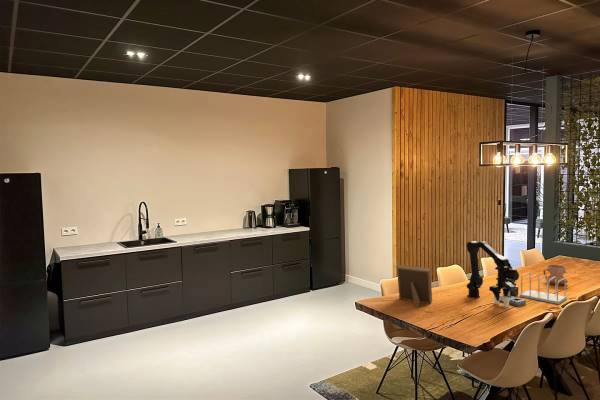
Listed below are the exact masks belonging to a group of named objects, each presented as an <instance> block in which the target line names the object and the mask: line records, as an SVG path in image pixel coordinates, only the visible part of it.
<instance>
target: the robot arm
mask: <svg viewBox="0 0 600 400" xmlns="http://www.w3.org/2000/svg"><path fill="white" fill-rule="evenodd" d="M465 247H466V250H467V252H468V253H469V259H470V271H471V275H470V277H469V282H468V283H467V284H466V289H468V294H467V295H466V296H467V297H468V298H472V299H476V298H480V297H481V296H480V289H481V287H482V286H483V283H484V279H483V278H484V277H483V276H481V275H480V268H479V258H478V257H479V256H478V253H479V251H480V249H482V250H483V251H484V252H485V253H486V254H487V255H488V256H489V257H490V258H492V260H493V262H494V264H495V268H494V270H497V277H496V278H495V280H497V281H496V284H495V285H491V286H489V290H488V291H490V292H492V293H493V296H494V295H495V297H496V300H497V301H499V296H500V295H501V293H503V295H504V296H508V293H509V291H512V290H514V288H516V286H517V282H516V283H515V282H512V283H511V282H509V280H508V279H512V280H516V281H518V280H519V278H520V274H519V272H518V270H517V269H513V266H512V265H511V263H510V260H509V259H508V258H507V257H505V256H503V255H501V254H499V252H497V251H496V250H495V249H494V248H493V247H491V246H490V245H489V244H488V242H487V241H476V240H473V241H468V242H467V243H466V246H465Z"/></svg>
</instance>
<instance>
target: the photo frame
mask: <svg viewBox="0 0 600 400" xmlns="http://www.w3.org/2000/svg"><path fill="white" fill-rule="evenodd" d="M396 272H397V273H396V274H397V283H398V284H397V285H398V297H399V299H398V300H401V299H404V300H403V301H408V300H410V301H409V302H413V306H414V307H417V308H419V307H420V303H421V304H428V305H431V304H432V302H433V291H432V290H433V288H432V287H433V286H432V273H431V272H432V271H431V268H429V267H420V266H414V265H413V266H412V265H404V264H403V265H402V264H398V265H397V267H396Z"/></svg>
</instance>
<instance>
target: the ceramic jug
mask: <svg viewBox="0 0 600 400" xmlns="http://www.w3.org/2000/svg"><path fill="white" fill-rule="evenodd" d="M546 271H547V272H549V274H550V275H547V273H546ZM542 272H543V273H542V274H543V276H545V275H547V276H548V282H549V280H550V279H551V278H553V277H554V276H556V286H557V283H558V281H559V280H561V279H563V278H565V279H566V284H567V283H568V282H569V281H568V279H567V278H566V277H564V274H569V273H570V272H569V271H567V267H566V266H565V265H562V264H561V265H560V264H548V265H547V267H546V268H544V269H543V270H542ZM547 276H545V277H544V278H545V281H546V282H547ZM565 279H564V280H562V281H560V282H559V283H558V286H563V285H564V286H565ZM549 285H555V278H553V279H552V280H550V282H549Z"/></svg>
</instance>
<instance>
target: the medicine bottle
mask: <svg viewBox="0 0 600 400" xmlns="http://www.w3.org/2000/svg"><path fill="white" fill-rule="evenodd" d="M507 279H508V278H507ZM508 280H509V282H511V283H512V282H515V283H516V284H517V282H516V281H517V280H512V279H508ZM508 295H509V296H513V297H516V298H517V297H519V286H518V285H516V288H514V290H512V291H509V293H508Z"/></svg>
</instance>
